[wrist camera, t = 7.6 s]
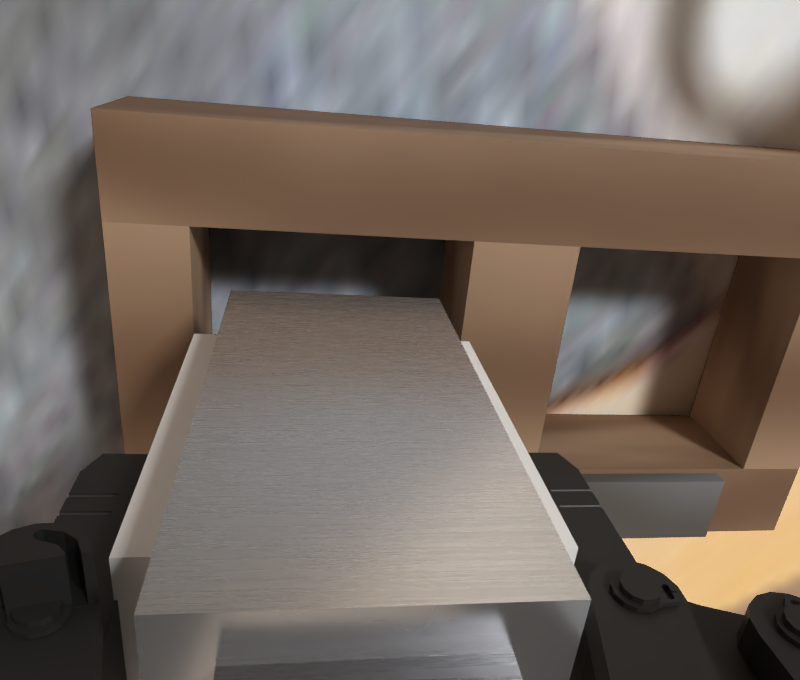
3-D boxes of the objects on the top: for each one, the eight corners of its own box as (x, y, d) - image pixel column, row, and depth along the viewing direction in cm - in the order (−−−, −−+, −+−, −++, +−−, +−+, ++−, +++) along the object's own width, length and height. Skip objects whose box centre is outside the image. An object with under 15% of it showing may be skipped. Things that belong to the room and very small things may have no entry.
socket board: (127, 96, 16) (84, 110, 13) (830, 152, 19) (932, 175, 16) (156, 474, 20) (129, 552, 17) (719, 472, 23) (782, 539, 20)
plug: (230, 290, 14) (119, 663, 6) (438, 298, 14) (612, 640, 6) (234, 467, 15) (153, 943, 7) (418, 466, 16) (532, 903, 8)
